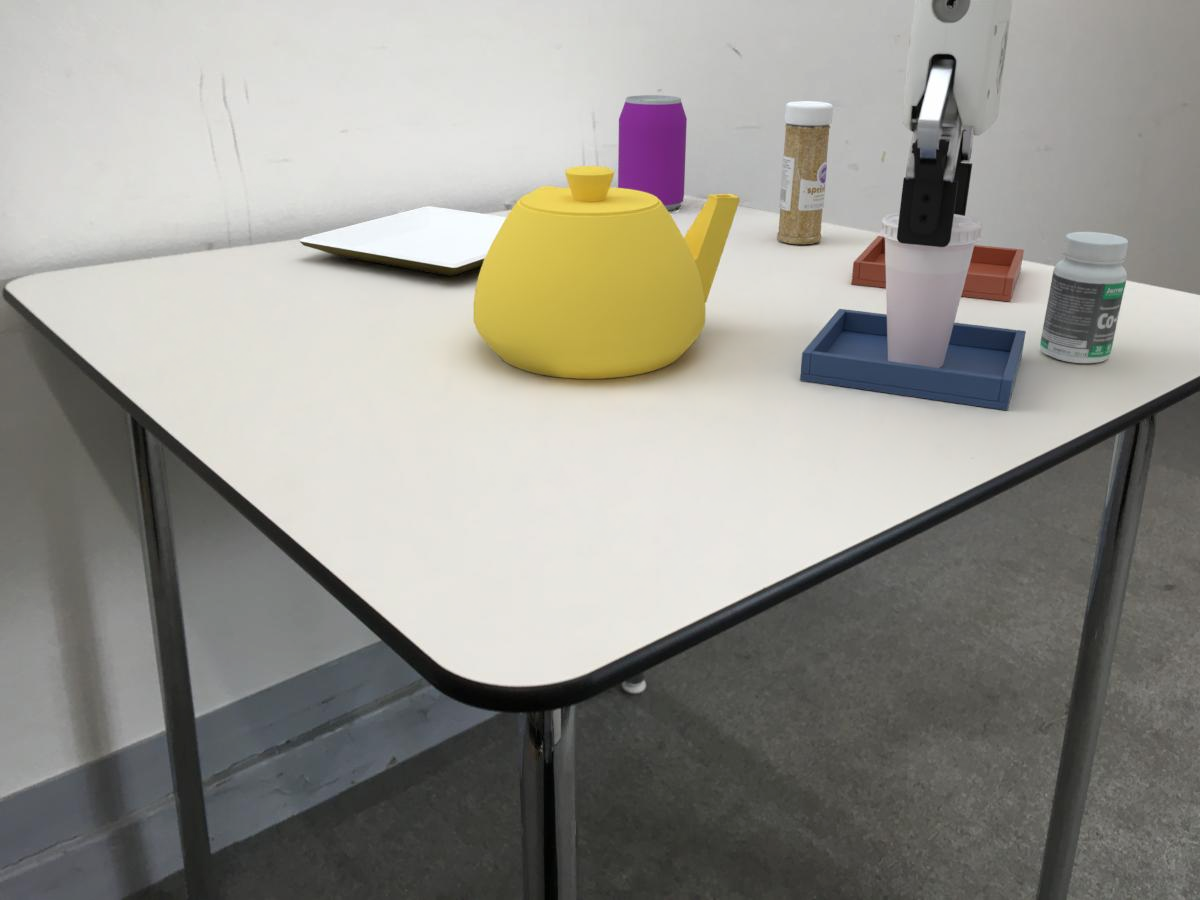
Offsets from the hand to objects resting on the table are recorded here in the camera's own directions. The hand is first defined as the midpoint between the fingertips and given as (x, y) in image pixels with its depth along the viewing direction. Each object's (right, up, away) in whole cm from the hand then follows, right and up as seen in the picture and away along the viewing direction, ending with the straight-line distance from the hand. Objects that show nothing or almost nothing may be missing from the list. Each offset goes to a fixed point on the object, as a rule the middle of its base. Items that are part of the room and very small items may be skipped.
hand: (931, 230), depth 71 cm
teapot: (-21, -6, +9) cm, 24 cm away
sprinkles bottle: (-2, +7, +40) cm, 40 cm away
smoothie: (0, -8, +4) cm, 9 cm away
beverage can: (-16, +14, +55) cm, 59 cm away
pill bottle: (+12, -8, +7) cm, 16 cm away
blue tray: (0, -9, +4) cm, 10 cm away
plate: (-37, +4, +34) cm, 50 cm away
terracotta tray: (+9, +1, +26) cm, 28 cm away
